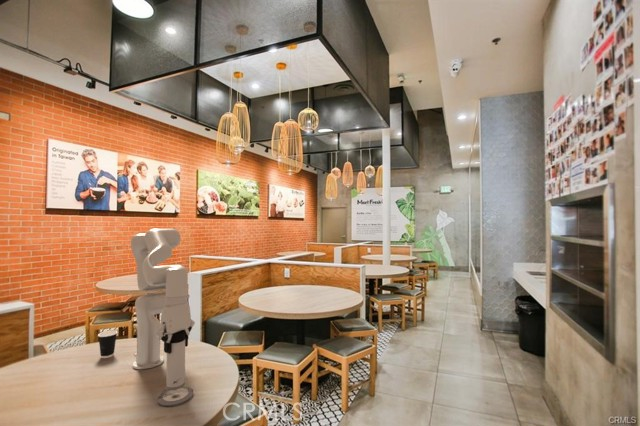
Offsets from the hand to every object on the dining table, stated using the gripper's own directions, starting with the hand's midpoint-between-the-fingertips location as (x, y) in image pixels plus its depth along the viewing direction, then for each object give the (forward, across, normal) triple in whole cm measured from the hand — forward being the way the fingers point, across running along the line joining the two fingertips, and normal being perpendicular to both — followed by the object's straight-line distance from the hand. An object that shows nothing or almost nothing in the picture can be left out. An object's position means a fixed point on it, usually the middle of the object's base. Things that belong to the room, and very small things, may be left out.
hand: (176, 348), depth 115 cm
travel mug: (+14, 0, 0) cm, 14 cm away
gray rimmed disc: (+18, 0, 0) cm, 18 cm away
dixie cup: (+18, -9, -62) cm, 65 cm away
